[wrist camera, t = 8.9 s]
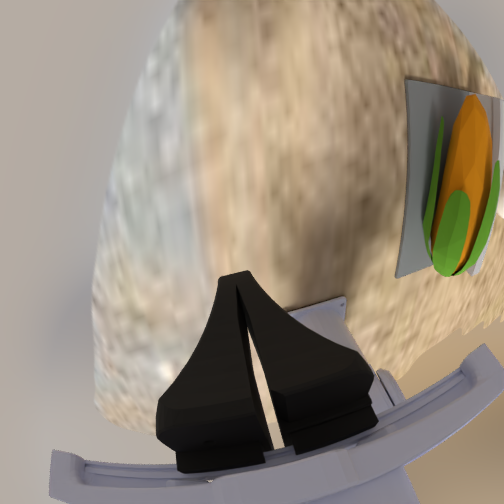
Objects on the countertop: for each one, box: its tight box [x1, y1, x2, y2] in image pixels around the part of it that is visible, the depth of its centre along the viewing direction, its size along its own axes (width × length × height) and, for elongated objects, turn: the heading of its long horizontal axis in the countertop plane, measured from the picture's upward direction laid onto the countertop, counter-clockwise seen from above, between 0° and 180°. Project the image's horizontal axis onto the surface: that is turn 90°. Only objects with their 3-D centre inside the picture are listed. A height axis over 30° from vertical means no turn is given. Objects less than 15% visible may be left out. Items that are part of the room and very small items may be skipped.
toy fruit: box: [422, 94, 500, 277], centre depth 20 cm, size 7×8×20 cm
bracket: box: [395, 80, 504, 279], centre depth 21 cm, size 22×12×5 cm, turn 9°
